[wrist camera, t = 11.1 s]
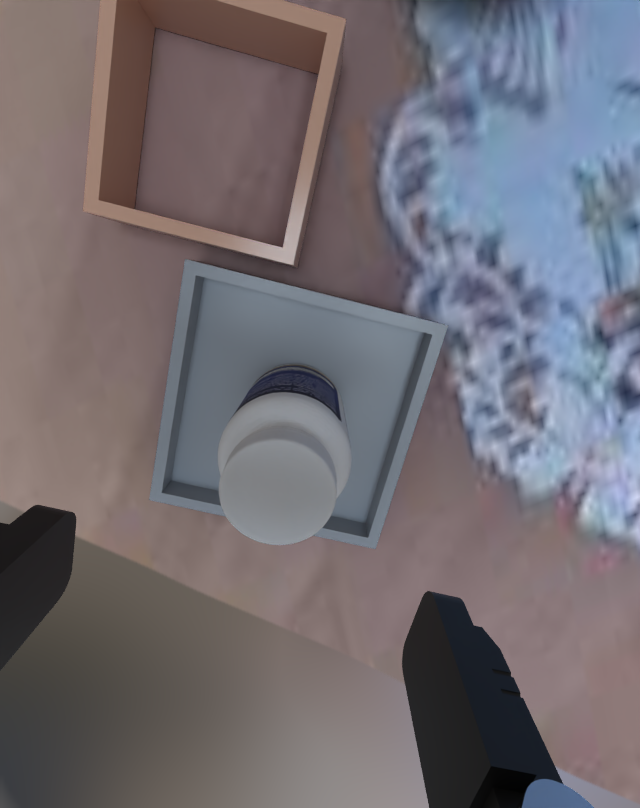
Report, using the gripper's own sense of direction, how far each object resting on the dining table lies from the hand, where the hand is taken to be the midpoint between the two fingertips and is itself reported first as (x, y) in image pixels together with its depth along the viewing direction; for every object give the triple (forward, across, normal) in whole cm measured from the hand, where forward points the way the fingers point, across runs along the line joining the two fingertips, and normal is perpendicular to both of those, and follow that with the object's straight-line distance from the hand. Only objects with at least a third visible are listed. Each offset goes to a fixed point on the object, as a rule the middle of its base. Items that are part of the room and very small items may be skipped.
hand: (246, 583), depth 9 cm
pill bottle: (+14, 0, 0) cm, 15 cm away
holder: (+15, +6, -12) cm, 20 cm away
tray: (+15, 0, 0) cm, 15 cm away
